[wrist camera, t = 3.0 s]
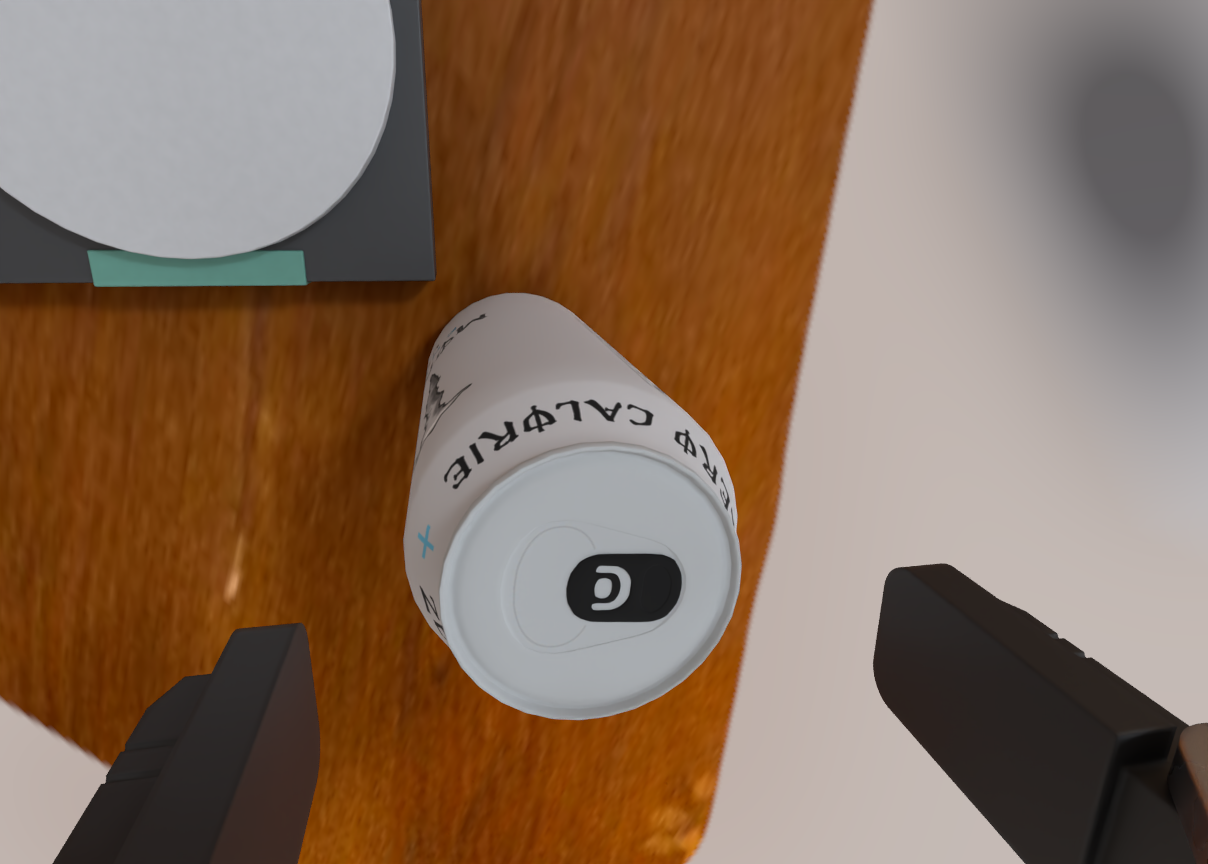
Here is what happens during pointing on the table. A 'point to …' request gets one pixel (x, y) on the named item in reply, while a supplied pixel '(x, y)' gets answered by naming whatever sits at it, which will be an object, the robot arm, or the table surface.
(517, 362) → the energy drink can
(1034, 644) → the robot arm
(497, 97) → the table surface
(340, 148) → the scale
